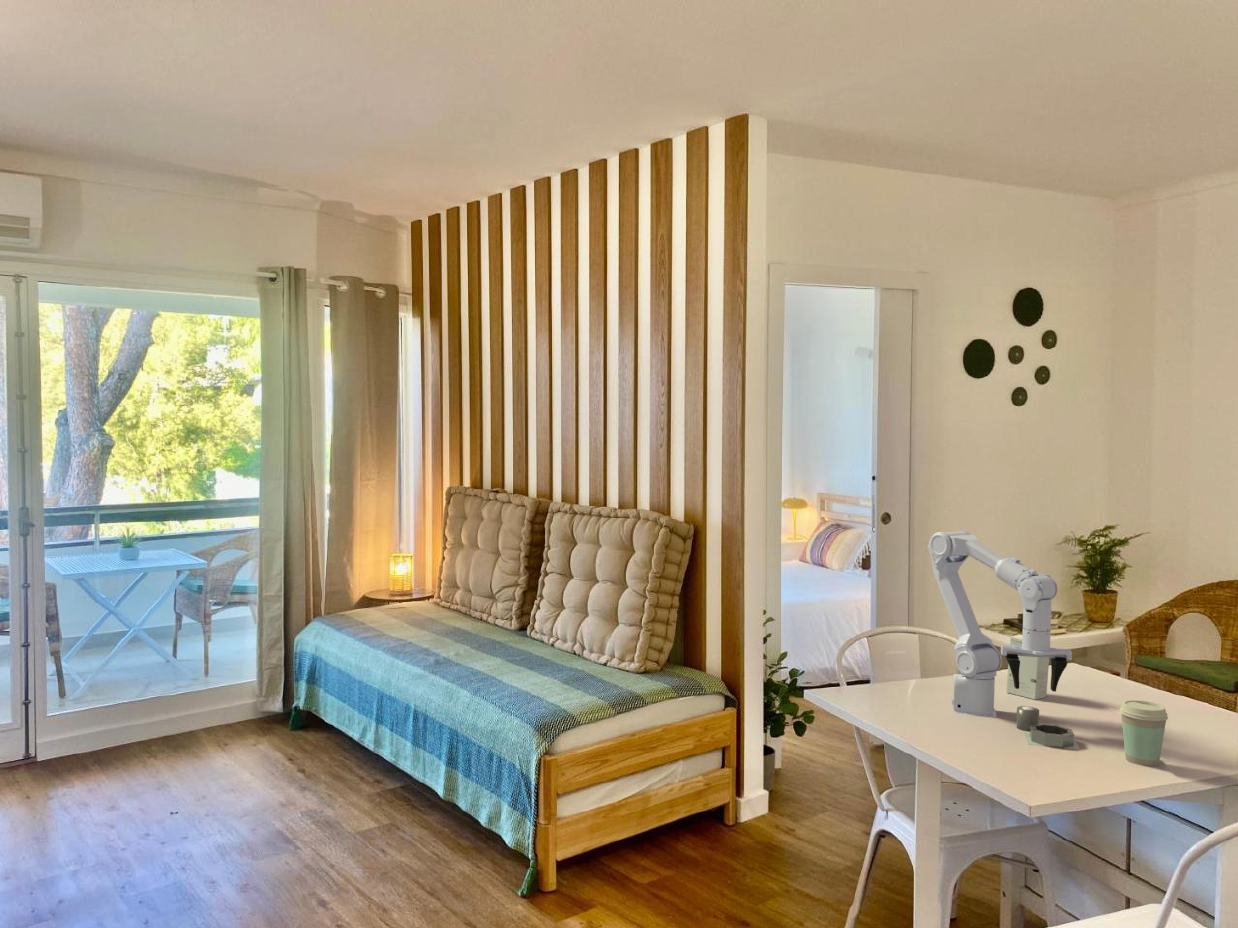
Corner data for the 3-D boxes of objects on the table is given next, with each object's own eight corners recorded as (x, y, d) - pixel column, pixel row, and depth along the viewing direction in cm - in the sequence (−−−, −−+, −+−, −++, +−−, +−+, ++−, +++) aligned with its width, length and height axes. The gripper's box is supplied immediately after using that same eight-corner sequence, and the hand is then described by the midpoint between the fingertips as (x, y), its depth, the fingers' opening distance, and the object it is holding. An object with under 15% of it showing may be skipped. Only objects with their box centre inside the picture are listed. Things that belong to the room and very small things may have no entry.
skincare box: (1005, 693, 241) (1007, 636, 240) (1018, 689, 244) (1019, 633, 244) (1037, 700, 234) (1038, 641, 234) (1049, 696, 238) (1050, 639, 237)
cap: (1017, 732, 207) (1017, 709, 207) (1015, 726, 212) (1016, 704, 212) (1039, 735, 206) (1040, 712, 206) (1037, 729, 210) (1038, 706, 210)
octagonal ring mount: (1032, 744, 197) (1033, 732, 197) (1028, 733, 205) (1029, 721, 205) (1075, 749, 195) (1075, 737, 195) (1069, 737, 202) (1070, 726, 202)
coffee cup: (1176, 770, 184) (1178, 711, 184) (1135, 771, 184) (1137, 711, 183) (1148, 756, 193) (1150, 699, 192) (1109, 756, 192) (1110, 699, 192)
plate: (1028, 746, 198) (1028, 743, 198) (1024, 735, 205) (1024, 732, 205) (1079, 752, 194) (1079, 749, 194) (1074, 740, 202) (1074, 738, 202)
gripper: (1005, 630, 206) (1003, 690, 207) (1076, 634, 203) (1074, 696, 203) (999, 624, 213) (998, 682, 214) (1068, 628, 210) (1066, 687, 210)
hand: (1034, 688), depth 209 cm, fingers open, 7 cm apart
